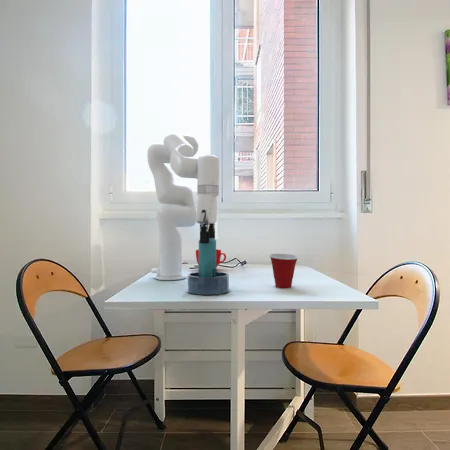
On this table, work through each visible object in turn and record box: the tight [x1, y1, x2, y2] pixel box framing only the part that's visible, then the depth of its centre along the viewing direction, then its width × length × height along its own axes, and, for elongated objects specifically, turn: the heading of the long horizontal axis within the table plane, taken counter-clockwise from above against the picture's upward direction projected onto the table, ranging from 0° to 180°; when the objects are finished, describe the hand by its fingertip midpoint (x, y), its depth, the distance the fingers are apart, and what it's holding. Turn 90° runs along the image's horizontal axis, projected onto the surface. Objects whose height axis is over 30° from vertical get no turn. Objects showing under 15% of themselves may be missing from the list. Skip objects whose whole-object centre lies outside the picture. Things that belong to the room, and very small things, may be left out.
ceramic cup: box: [195, 248, 227, 268], centre depth 178 cm, size 13×17×10 cm
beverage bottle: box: [197, 228, 218, 277], centre depth 123 cm, size 6×7×20 cm
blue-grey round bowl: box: [187, 271, 230, 296], centre depth 123 cm, size 14×14×6 cm
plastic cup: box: [269, 253, 299, 289], centre depth 131 cm, size 11×11×12 cm
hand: (207, 242), depth 123 cm, fingers closed on beverage bottle, 6 cm apart
